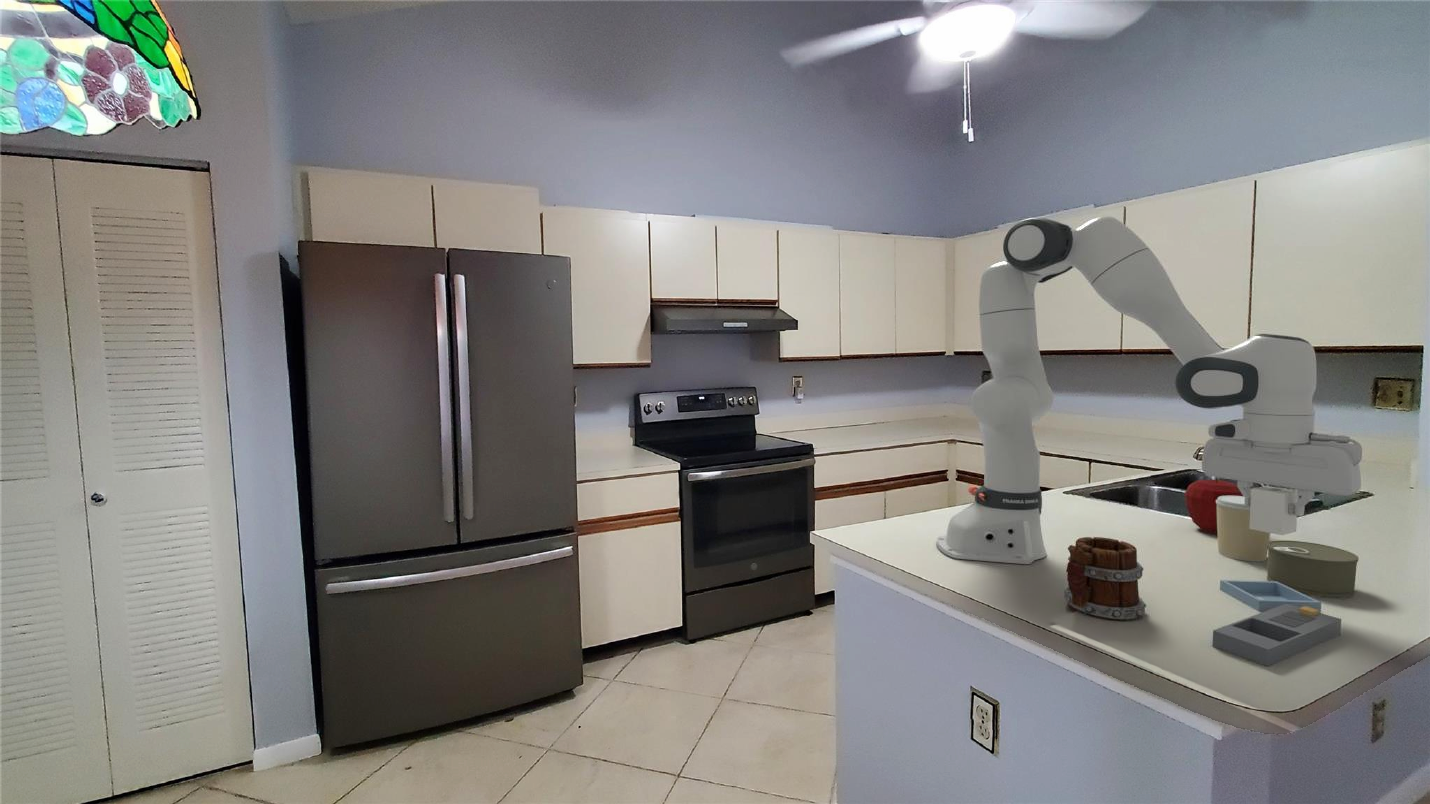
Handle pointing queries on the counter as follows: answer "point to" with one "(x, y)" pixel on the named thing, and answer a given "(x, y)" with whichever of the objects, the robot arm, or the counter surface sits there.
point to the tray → (1266, 594)
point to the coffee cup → (1239, 531)
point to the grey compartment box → (1277, 633)
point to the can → (1312, 568)
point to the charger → (1272, 510)
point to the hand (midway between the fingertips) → (1273, 511)
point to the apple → (1207, 501)
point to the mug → (1104, 579)
